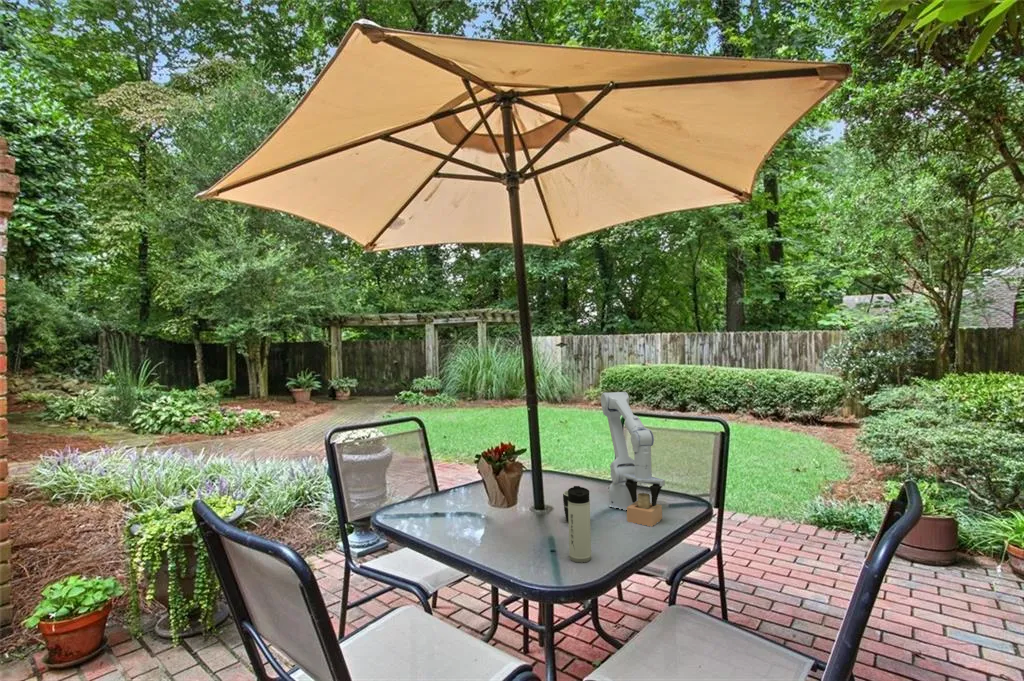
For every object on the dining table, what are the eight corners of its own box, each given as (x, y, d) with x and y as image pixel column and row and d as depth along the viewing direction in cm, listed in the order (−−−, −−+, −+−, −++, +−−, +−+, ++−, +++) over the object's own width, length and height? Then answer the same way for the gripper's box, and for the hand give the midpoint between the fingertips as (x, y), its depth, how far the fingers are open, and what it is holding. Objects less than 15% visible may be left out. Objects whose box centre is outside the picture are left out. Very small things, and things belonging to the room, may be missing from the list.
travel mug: (588, 552, 146) (586, 485, 146) (593, 562, 139) (591, 491, 139) (567, 553, 145) (566, 486, 146) (571, 563, 139) (569, 492, 139)
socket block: (627, 521, 171) (626, 507, 171) (637, 514, 178) (637, 500, 178) (651, 527, 165) (651, 512, 165) (662, 519, 172) (661, 505, 172)
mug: (559, 519, 175) (559, 490, 175) (583, 516, 177) (582, 488, 177) (573, 531, 163) (572, 500, 163) (597, 527, 166) (597, 497, 166)
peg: (636, 518, 171) (635, 495, 171) (641, 515, 174) (640, 492, 174) (647, 520, 169) (646, 497, 169) (652, 517, 172) (651, 494, 172)
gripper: (618, 464, 173) (619, 502, 173) (658, 469, 164) (659, 510, 164) (627, 460, 179) (628, 497, 178) (666, 465, 170) (667, 504, 169)
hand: (644, 503), depth 172 cm, fingers open, 7 cm apart
